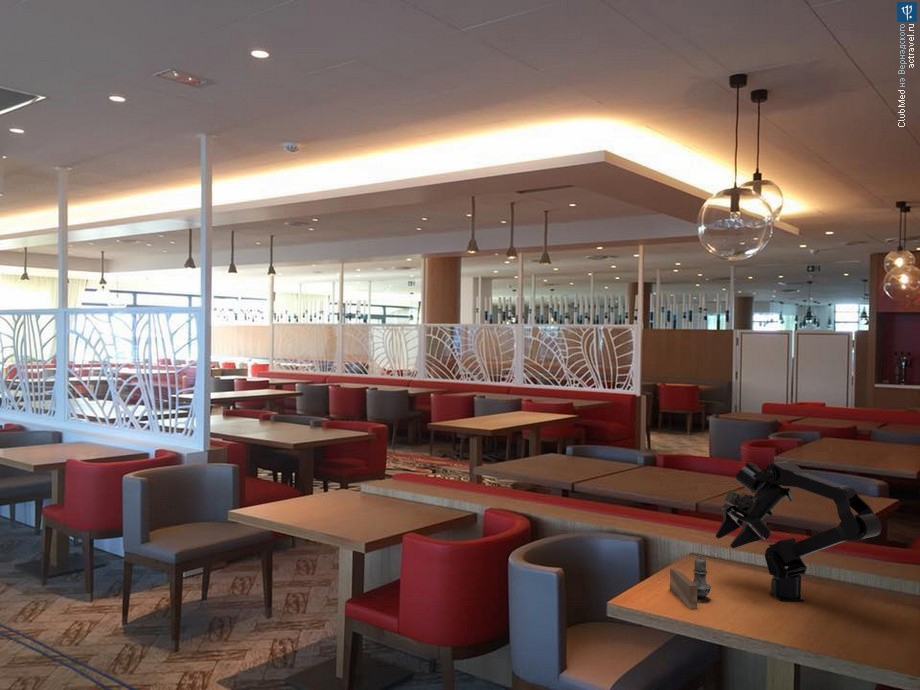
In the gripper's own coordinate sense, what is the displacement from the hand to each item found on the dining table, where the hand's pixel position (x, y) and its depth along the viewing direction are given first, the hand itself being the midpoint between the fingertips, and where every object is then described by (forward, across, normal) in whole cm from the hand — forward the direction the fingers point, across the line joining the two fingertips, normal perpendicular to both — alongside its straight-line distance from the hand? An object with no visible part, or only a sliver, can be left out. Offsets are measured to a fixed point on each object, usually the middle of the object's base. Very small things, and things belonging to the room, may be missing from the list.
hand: (723, 542), depth 211 cm
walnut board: (+19, +5, 0) cm, 20 cm away
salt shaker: (+16, +5, +4) cm, 17 cm away
